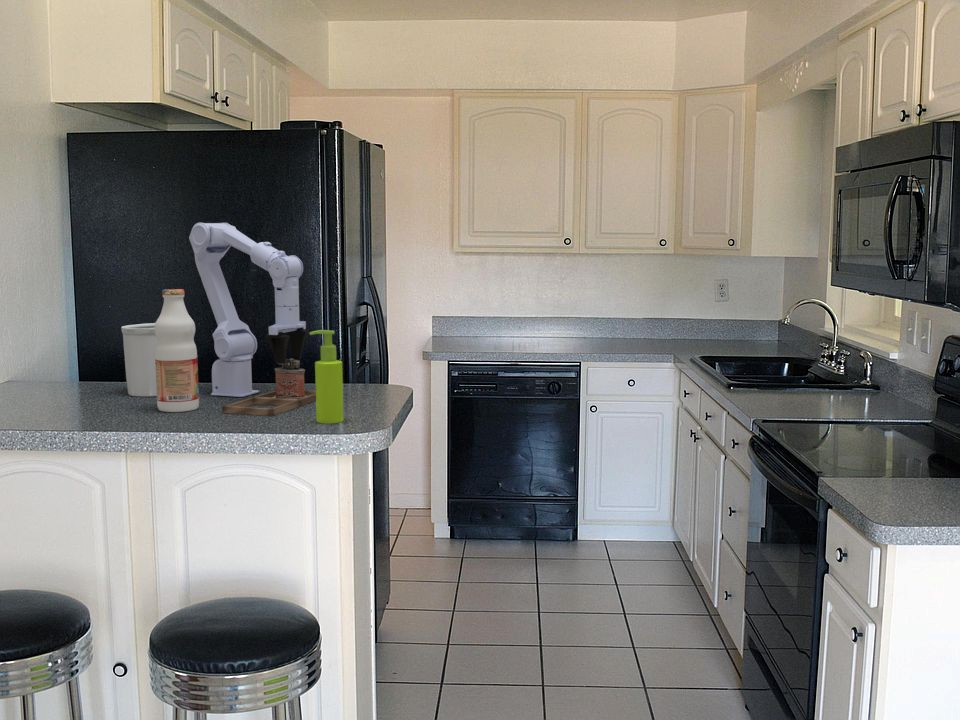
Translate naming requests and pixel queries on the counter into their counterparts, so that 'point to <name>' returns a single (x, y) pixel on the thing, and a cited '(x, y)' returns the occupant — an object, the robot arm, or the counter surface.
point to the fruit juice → (176, 356)
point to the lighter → (290, 380)
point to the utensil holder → (140, 359)
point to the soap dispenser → (328, 382)
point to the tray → (268, 399)
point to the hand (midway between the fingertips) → (288, 361)
